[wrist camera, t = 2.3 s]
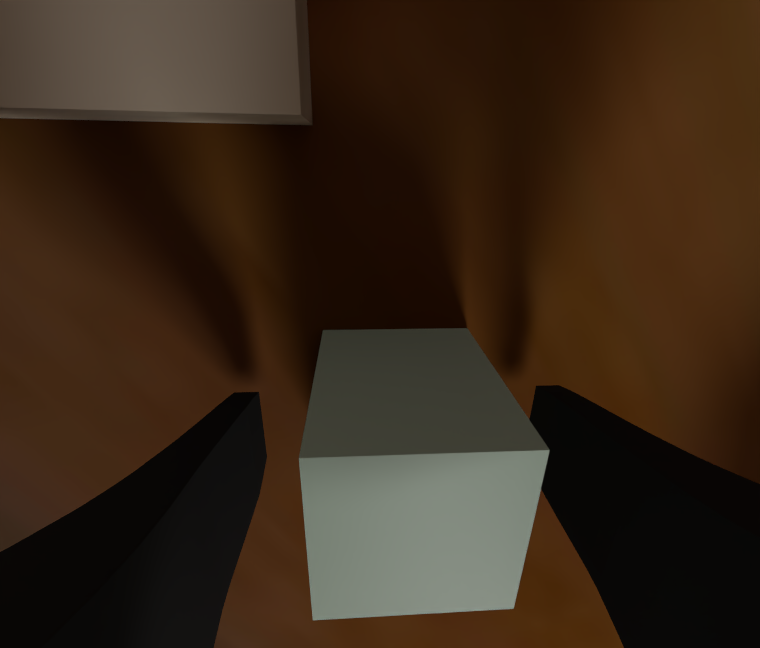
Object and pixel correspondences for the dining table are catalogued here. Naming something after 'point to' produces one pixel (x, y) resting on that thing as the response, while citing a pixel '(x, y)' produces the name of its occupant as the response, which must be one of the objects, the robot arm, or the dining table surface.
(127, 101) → the slab
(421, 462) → the block
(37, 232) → the dining table surface
